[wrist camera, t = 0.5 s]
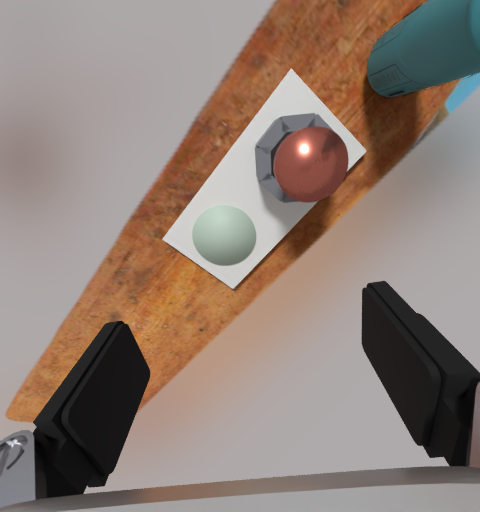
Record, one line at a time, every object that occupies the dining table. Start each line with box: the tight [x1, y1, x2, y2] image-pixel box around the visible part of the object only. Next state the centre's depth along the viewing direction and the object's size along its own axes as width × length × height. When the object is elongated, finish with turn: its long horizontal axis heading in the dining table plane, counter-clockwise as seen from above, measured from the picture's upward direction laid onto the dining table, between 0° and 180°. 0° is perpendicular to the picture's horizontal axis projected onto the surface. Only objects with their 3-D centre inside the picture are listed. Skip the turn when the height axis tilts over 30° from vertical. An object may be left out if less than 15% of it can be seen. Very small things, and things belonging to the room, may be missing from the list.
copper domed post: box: [273, 126, 349, 203], centre depth 27 cm, size 6×6×10 cm
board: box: [163, 69, 366, 289], centre depth 33 cm, size 26×13×5 cm, turn 140°
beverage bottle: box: [367, 0, 480, 98], centre depth 20 cm, size 6×7×20 cm
